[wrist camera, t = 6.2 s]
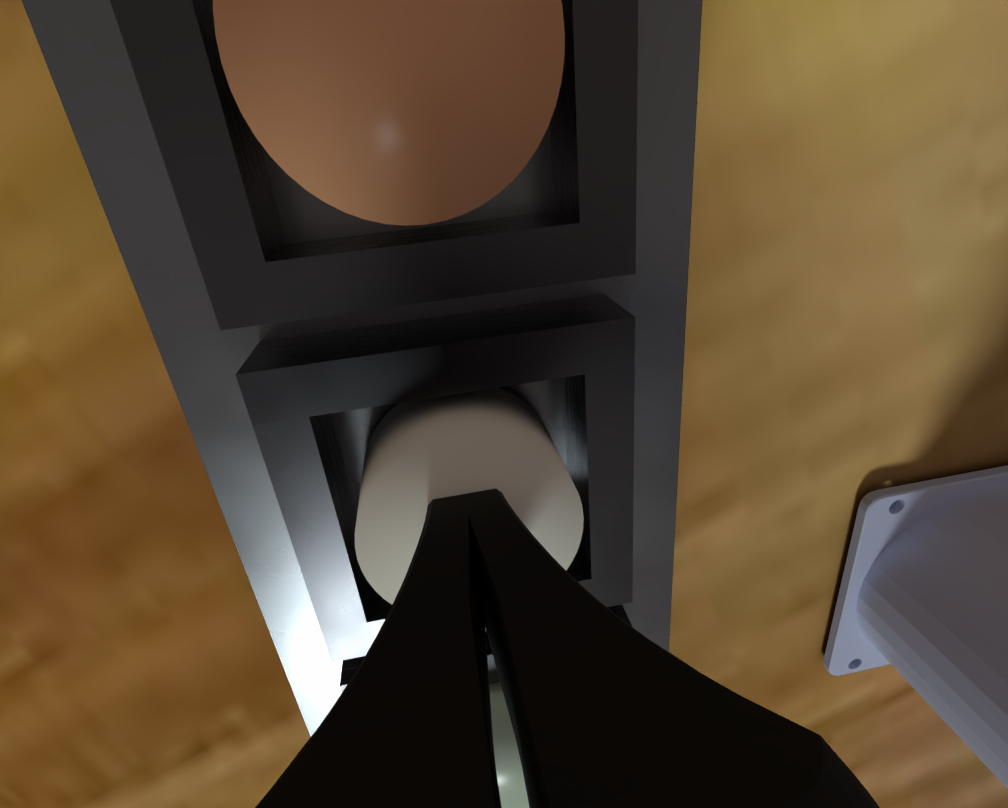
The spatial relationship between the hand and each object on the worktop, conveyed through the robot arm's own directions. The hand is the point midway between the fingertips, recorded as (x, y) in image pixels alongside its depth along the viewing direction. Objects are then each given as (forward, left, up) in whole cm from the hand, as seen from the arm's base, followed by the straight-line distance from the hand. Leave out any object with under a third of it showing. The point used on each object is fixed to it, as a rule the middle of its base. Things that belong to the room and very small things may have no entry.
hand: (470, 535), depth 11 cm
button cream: (0, 0, -2) cm, 2 cm away
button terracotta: (0, -8, -2) cm, 8 cm away
